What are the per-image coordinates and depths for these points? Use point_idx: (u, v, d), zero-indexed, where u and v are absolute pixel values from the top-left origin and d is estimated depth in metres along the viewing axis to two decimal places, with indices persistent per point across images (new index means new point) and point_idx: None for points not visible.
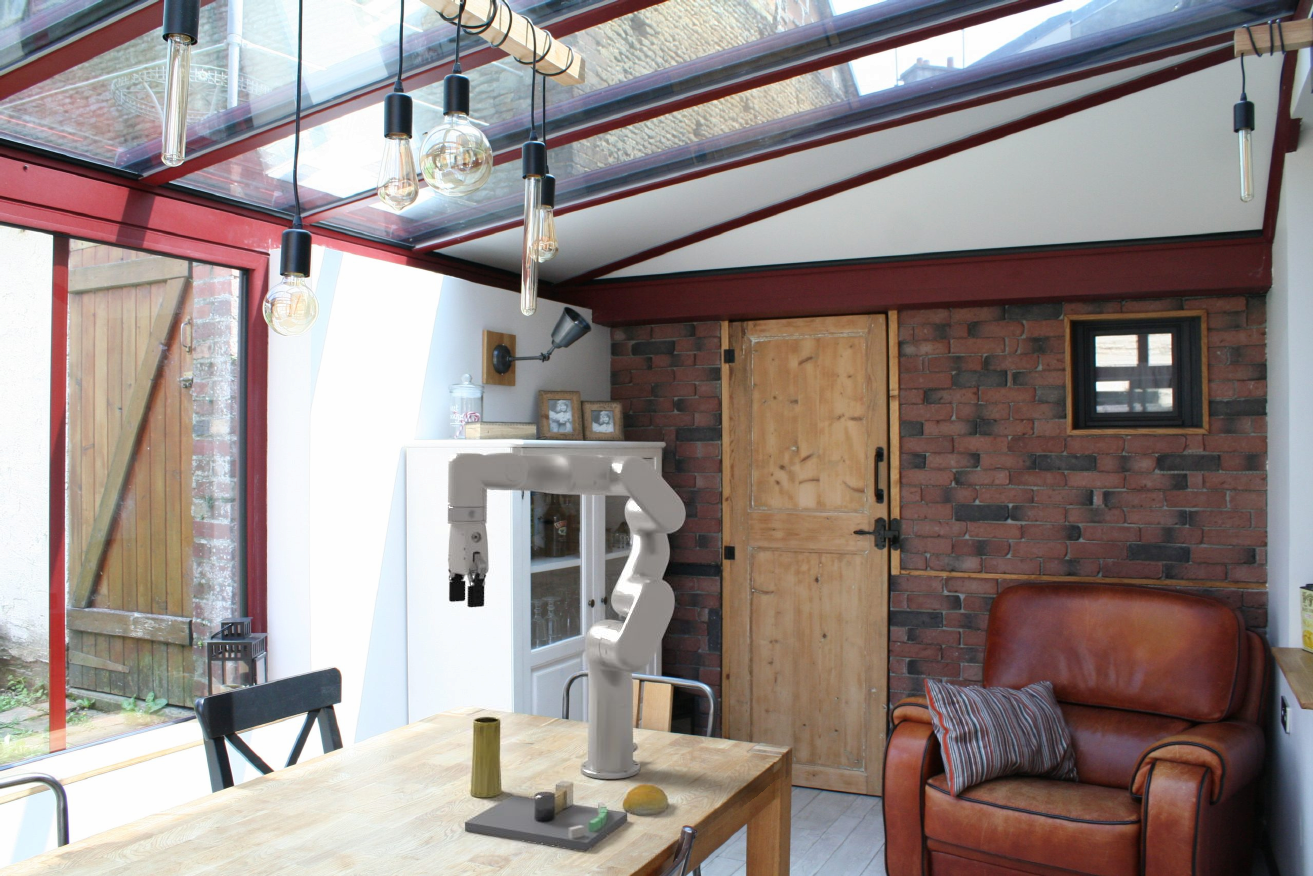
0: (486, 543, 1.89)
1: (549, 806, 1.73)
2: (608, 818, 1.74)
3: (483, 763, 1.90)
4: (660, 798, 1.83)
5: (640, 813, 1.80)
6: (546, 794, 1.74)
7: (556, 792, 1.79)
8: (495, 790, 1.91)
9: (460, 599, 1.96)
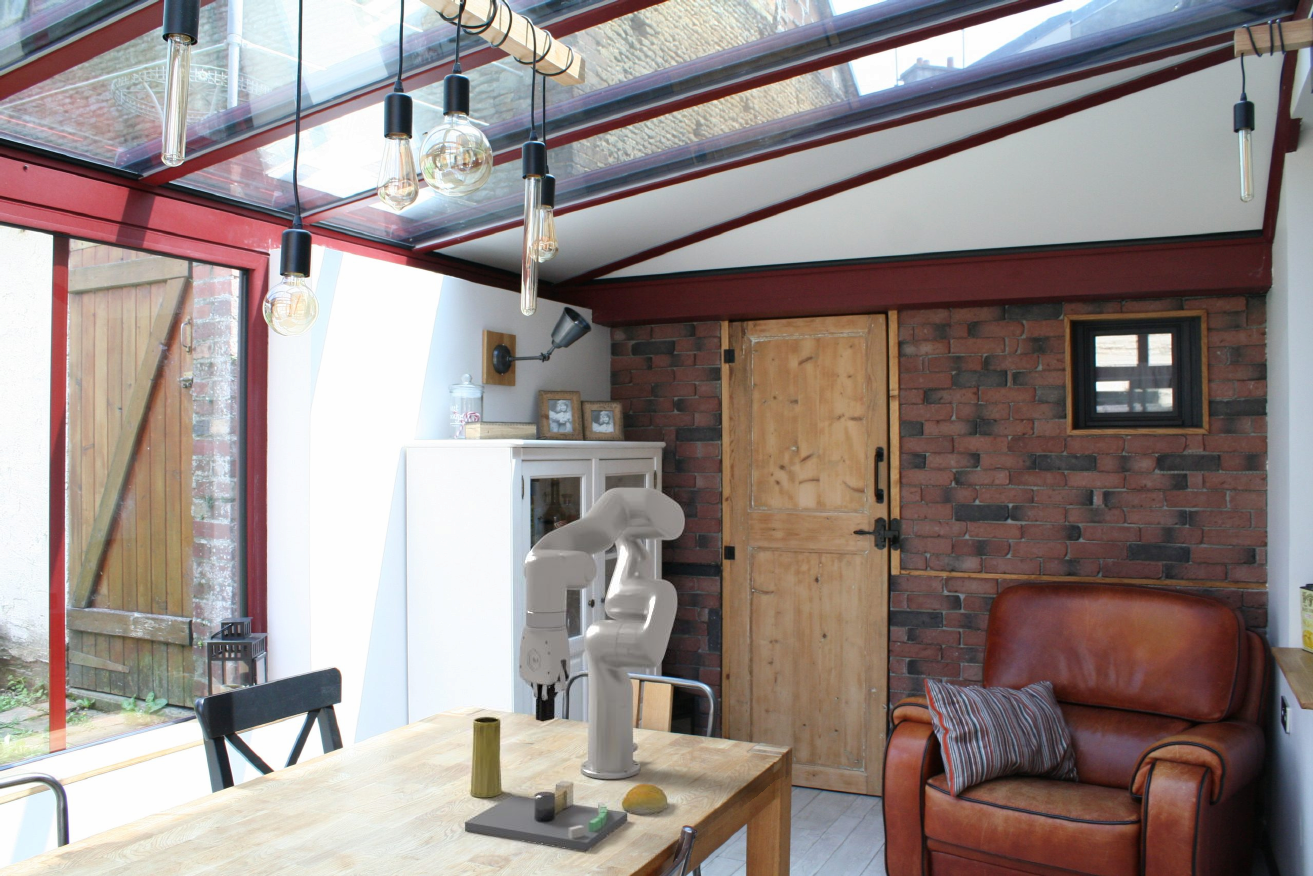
0: None
1: (549, 806, 1.73)
2: (608, 818, 1.74)
3: (483, 763, 1.90)
4: (659, 798, 1.83)
5: (639, 812, 1.81)
6: (546, 794, 1.74)
7: (556, 792, 1.79)
8: (495, 790, 1.91)
9: None
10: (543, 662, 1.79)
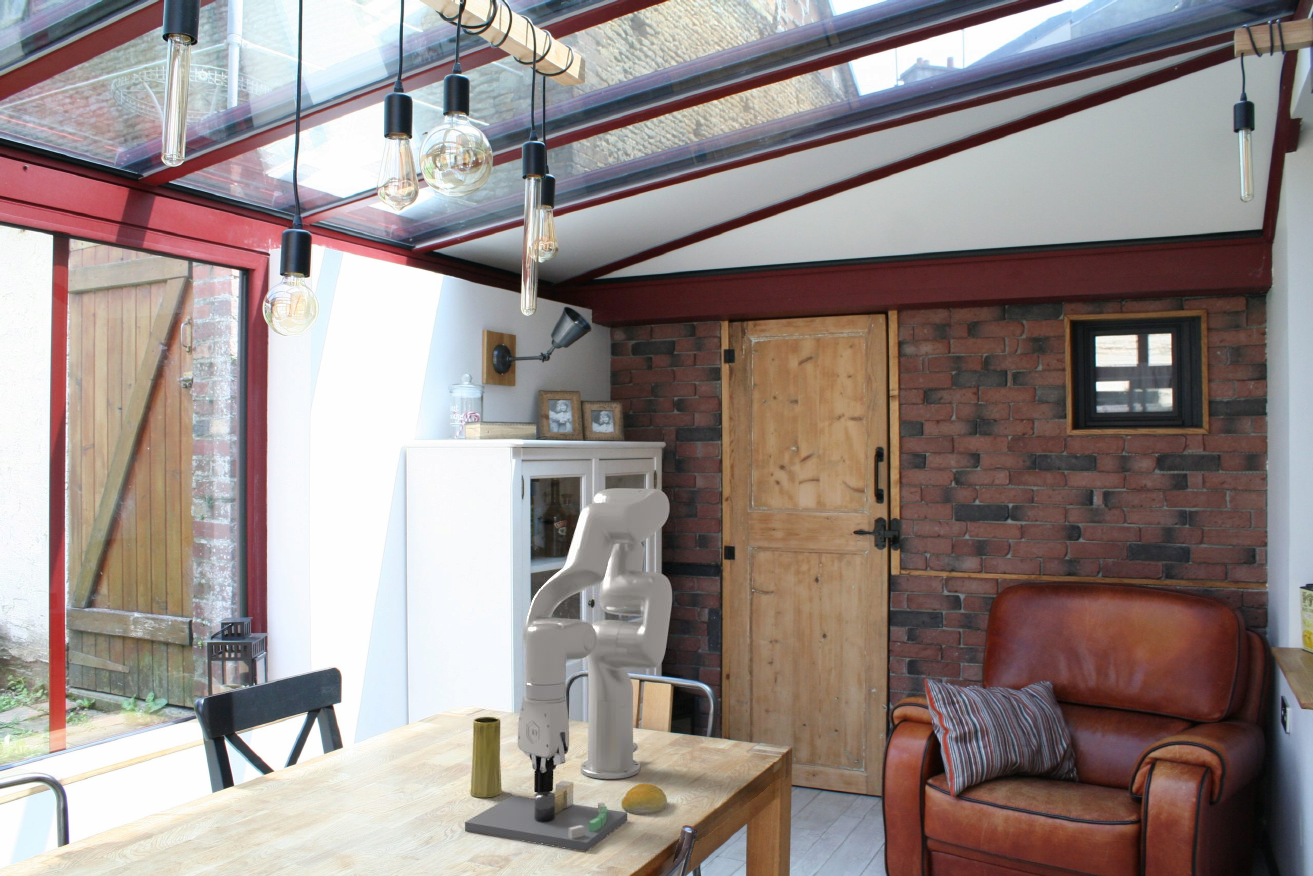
0: None
1: (549, 806, 1.73)
2: (608, 818, 1.74)
3: (483, 763, 1.90)
4: (659, 797, 1.83)
5: (639, 812, 1.81)
6: (546, 794, 1.74)
7: (556, 792, 1.79)
8: (495, 790, 1.91)
9: None
10: (542, 735, 1.78)
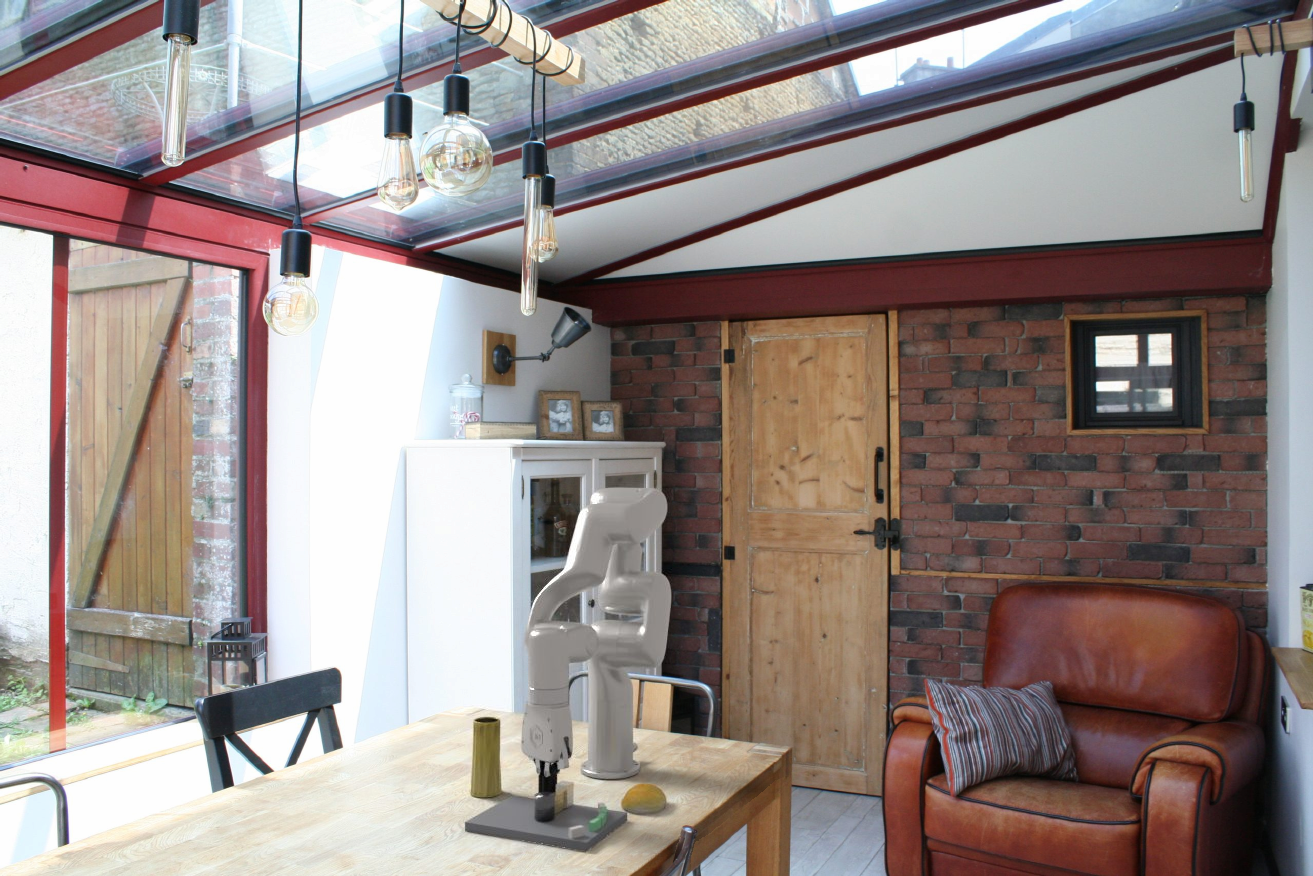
0: None
1: (549, 806, 1.73)
2: (608, 818, 1.74)
3: (483, 763, 1.90)
4: (658, 797, 1.83)
5: (638, 812, 1.81)
6: (546, 794, 1.74)
7: (556, 792, 1.79)
8: (495, 790, 1.91)
9: None
10: (545, 739, 1.78)
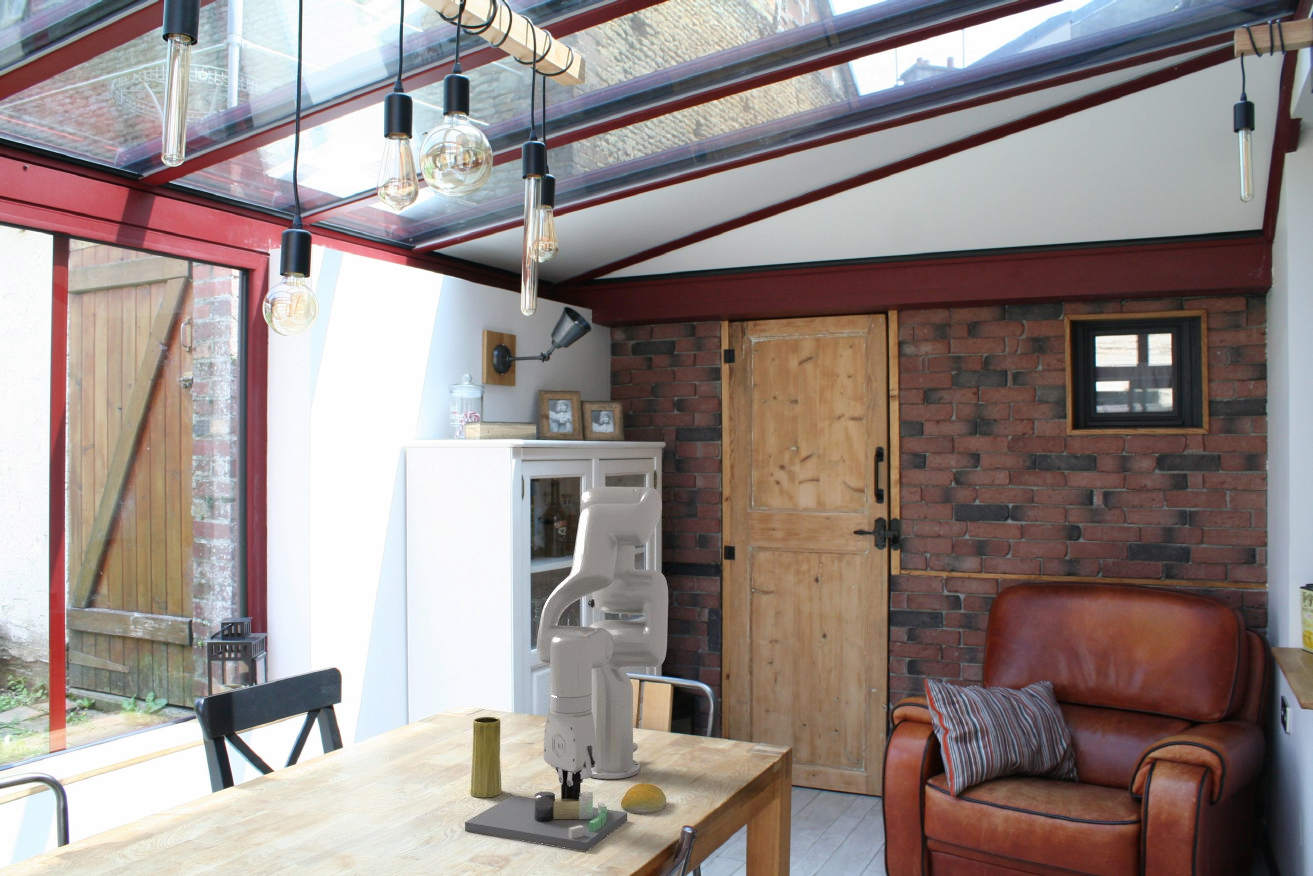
0: None
1: (538, 806, 1.72)
2: (608, 818, 1.74)
3: (483, 763, 1.90)
4: (658, 797, 1.83)
5: (638, 812, 1.81)
6: (546, 795, 1.74)
7: (572, 799, 1.75)
8: (495, 790, 1.91)
9: None
10: (568, 749, 1.73)
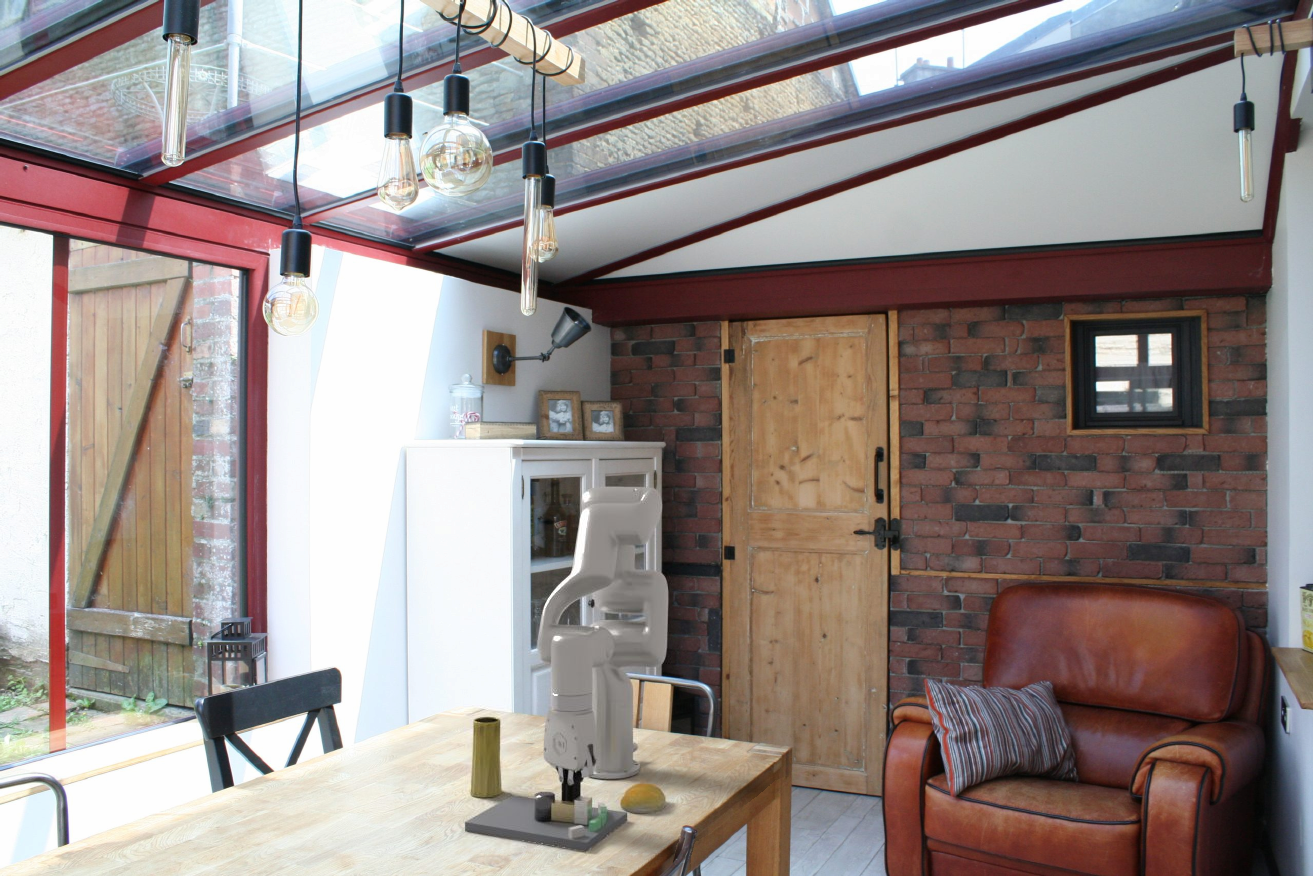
0: None
1: (536, 805, 1.73)
2: (608, 818, 1.74)
3: (483, 763, 1.90)
4: (658, 797, 1.83)
5: (637, 811, 1.81)
6: (546, 795, 1.74)
7: (570, 802, 1.73)
8: (495, 790, 1.91)
9: None
10: (569, 747, 1.73)
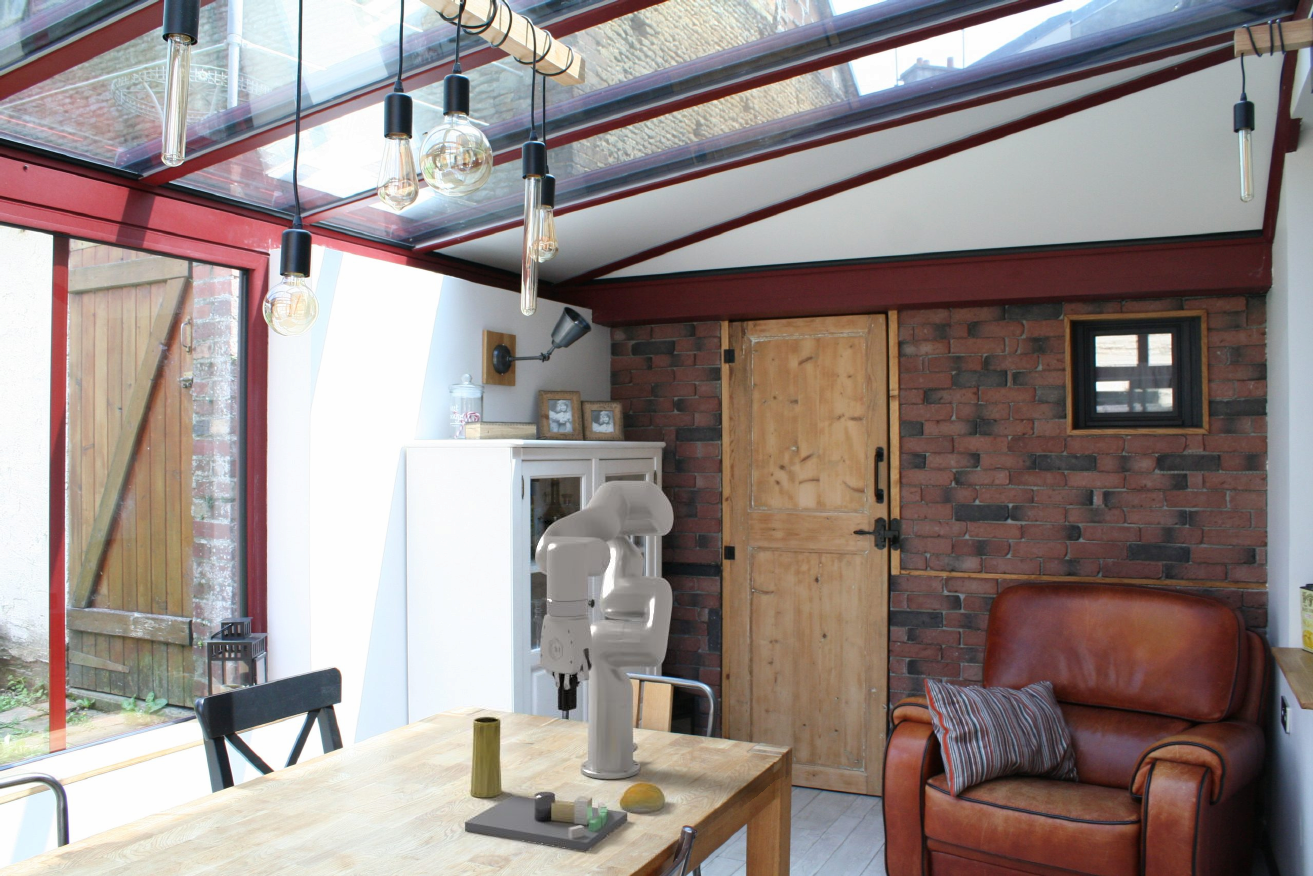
0: None
1: (536, 805, 1.73)
2: (608, 818, 1.74)
3: (483, 763, 1.90)
4: (657, 796, 1.84)
5: (637, 811, 1.81)
6: (546, 795, 1.74)
7: (570, 802, 1.73)
8: (495, 790, 1.91)
9: None
10: (565, 651, 1.76)
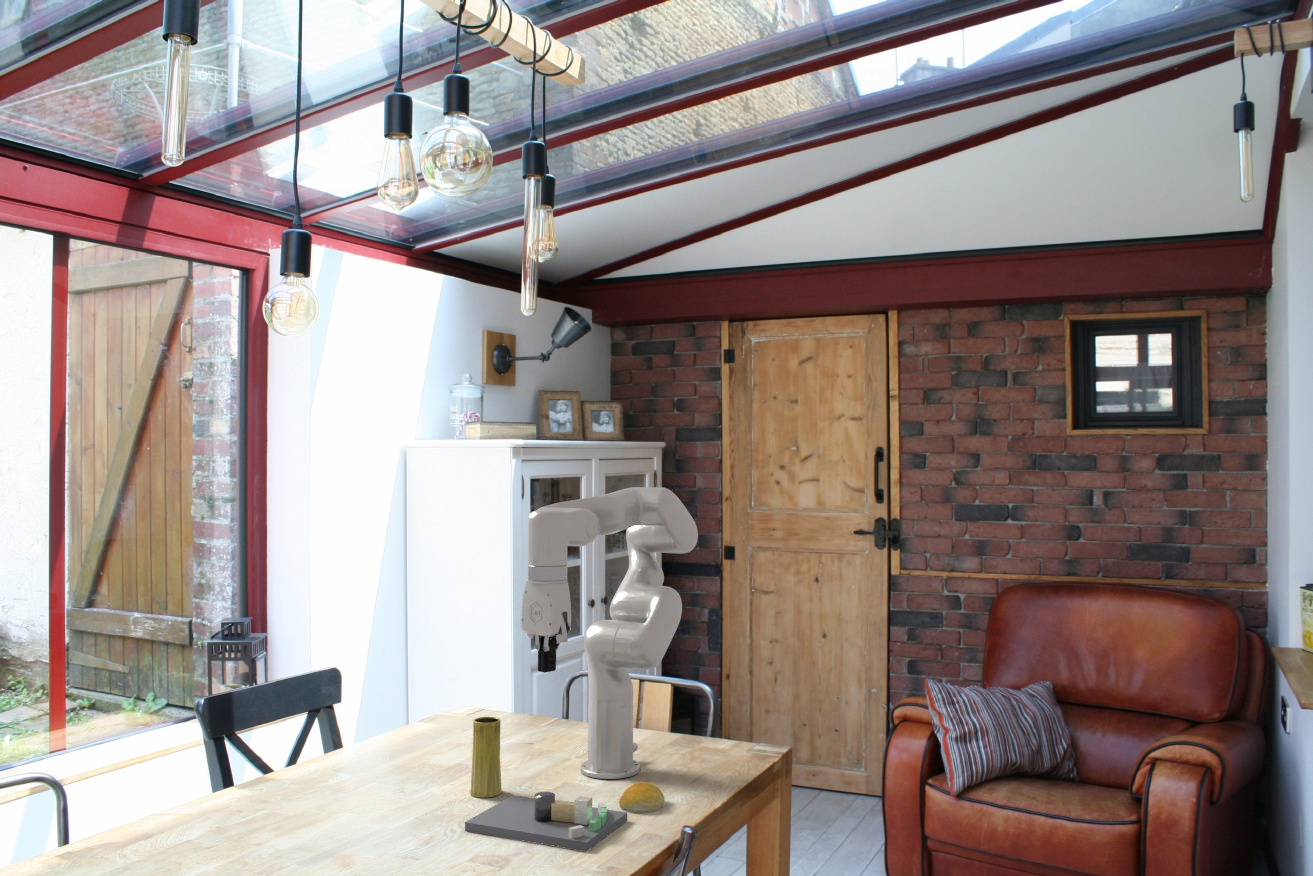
0: None
1: (536, 805, 1.73)
2: (608, 818, 1.74)
3: (483, 763, 1.90)
4: (656, 796, 1.84)
5: (636, 811, 1.81)
6: (546, 795, 1.74)
7: (570, 802, 1.73)
8: (495, 790, 1.91)
9: None
10: (545, 614, 1.84)
